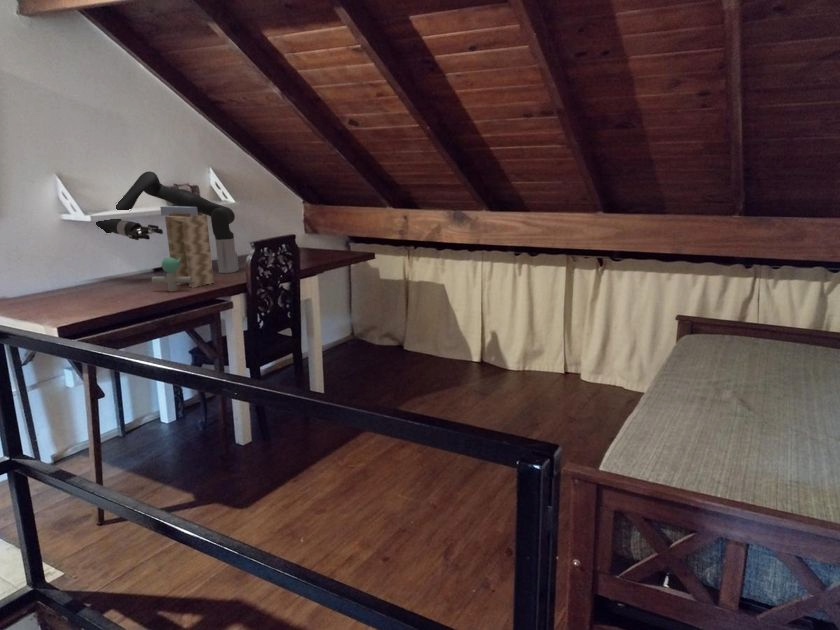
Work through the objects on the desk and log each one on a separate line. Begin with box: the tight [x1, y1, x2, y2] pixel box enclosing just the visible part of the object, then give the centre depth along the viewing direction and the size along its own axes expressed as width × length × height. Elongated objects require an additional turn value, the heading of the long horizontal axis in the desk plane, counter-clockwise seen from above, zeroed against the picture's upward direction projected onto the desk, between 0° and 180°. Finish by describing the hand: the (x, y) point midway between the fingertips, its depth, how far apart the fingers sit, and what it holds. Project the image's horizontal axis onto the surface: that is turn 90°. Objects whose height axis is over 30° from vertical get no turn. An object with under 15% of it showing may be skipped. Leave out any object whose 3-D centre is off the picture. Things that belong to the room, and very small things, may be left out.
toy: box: [151, 256, 192, 292], centre depth 278 cm, size 18×7×15 cm, turn 84°
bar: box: [159, 205, 198, 217], centre depth 287 cm, size 4×22×4 cm, turn 57°
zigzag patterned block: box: [164, 213, 215, 289], centre depth 289 cm, size 12×14×33 cm
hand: (155, 234), depth 297 cm, fingers open, 8 cm apart
